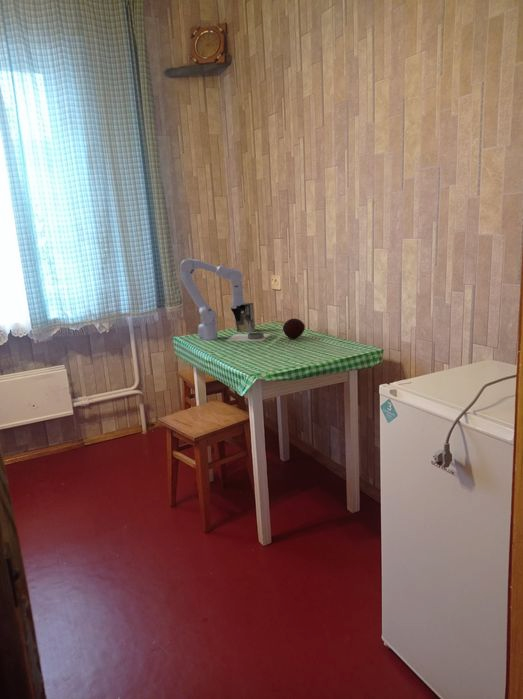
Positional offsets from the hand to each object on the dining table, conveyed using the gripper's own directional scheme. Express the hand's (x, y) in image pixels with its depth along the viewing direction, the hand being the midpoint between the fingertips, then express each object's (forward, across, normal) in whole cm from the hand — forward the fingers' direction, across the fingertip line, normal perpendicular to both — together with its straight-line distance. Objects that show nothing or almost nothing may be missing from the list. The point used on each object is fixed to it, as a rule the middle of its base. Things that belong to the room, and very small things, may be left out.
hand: (239, 320), depth 267 cm
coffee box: (+10, +17, +3) cm, 20 cm away
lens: (+2, 0, 0) cm, 2 cm away
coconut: (+10, +1, -28) cm, 30 cm away
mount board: (+10, -1, -4) cm, 11 cm away
